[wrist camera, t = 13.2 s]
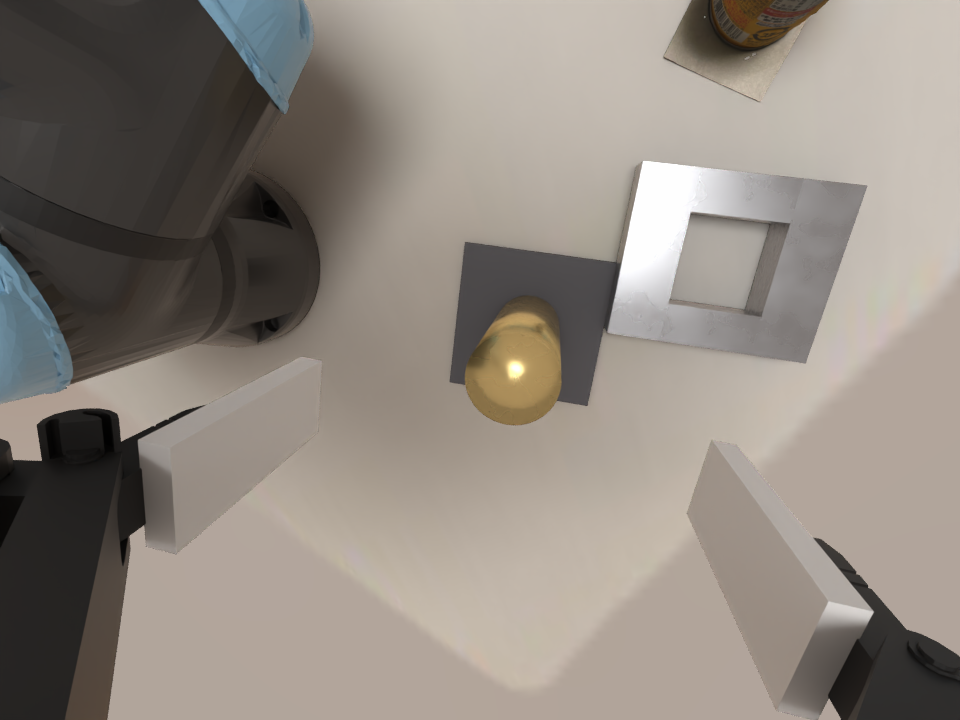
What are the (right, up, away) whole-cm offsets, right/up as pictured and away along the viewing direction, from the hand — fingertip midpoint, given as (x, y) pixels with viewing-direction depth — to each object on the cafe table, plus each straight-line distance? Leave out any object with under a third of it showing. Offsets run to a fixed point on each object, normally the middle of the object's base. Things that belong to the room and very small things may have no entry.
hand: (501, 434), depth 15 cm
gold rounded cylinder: (+3, +5, +23) cm, 23 cm away
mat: (+3, +5, +23) cm, 24 cm away
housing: (+17, +10, +19) cm, 28 cm away
